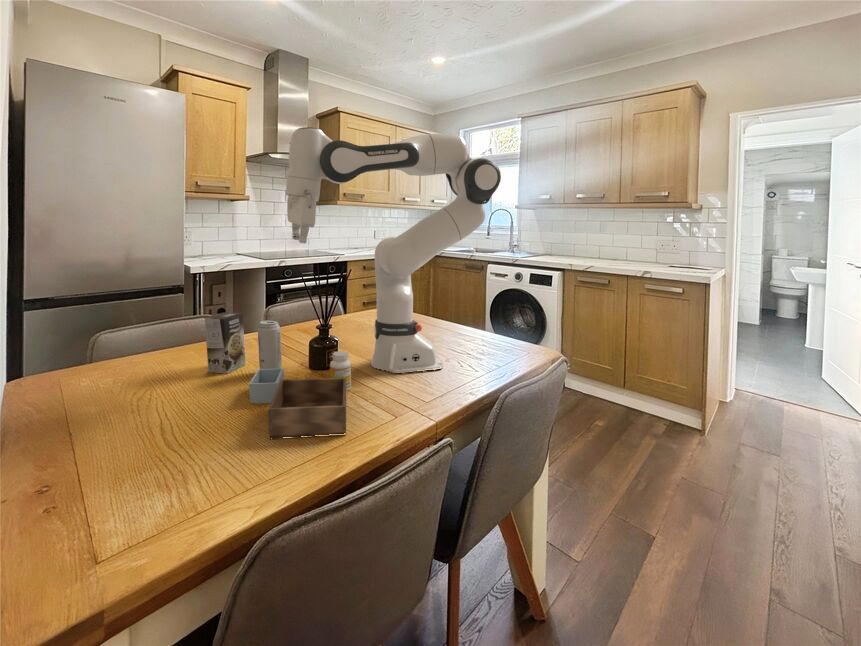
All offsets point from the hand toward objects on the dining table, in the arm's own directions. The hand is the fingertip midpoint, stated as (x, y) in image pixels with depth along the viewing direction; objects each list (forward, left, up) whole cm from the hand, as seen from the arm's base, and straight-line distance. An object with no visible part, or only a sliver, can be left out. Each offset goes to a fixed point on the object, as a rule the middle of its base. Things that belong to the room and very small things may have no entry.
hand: (298, 241), depth 125 cm
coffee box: (+22, -3, -38) cm, 44 cm away
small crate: (+7, +19, -38) cm, 43 cm away
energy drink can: (+9, +2, -38) cm, 39 cm away
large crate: (-5, +35, -38) cm, 52 cm away
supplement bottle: (-11, +16, -38) cm, 43 cm away
